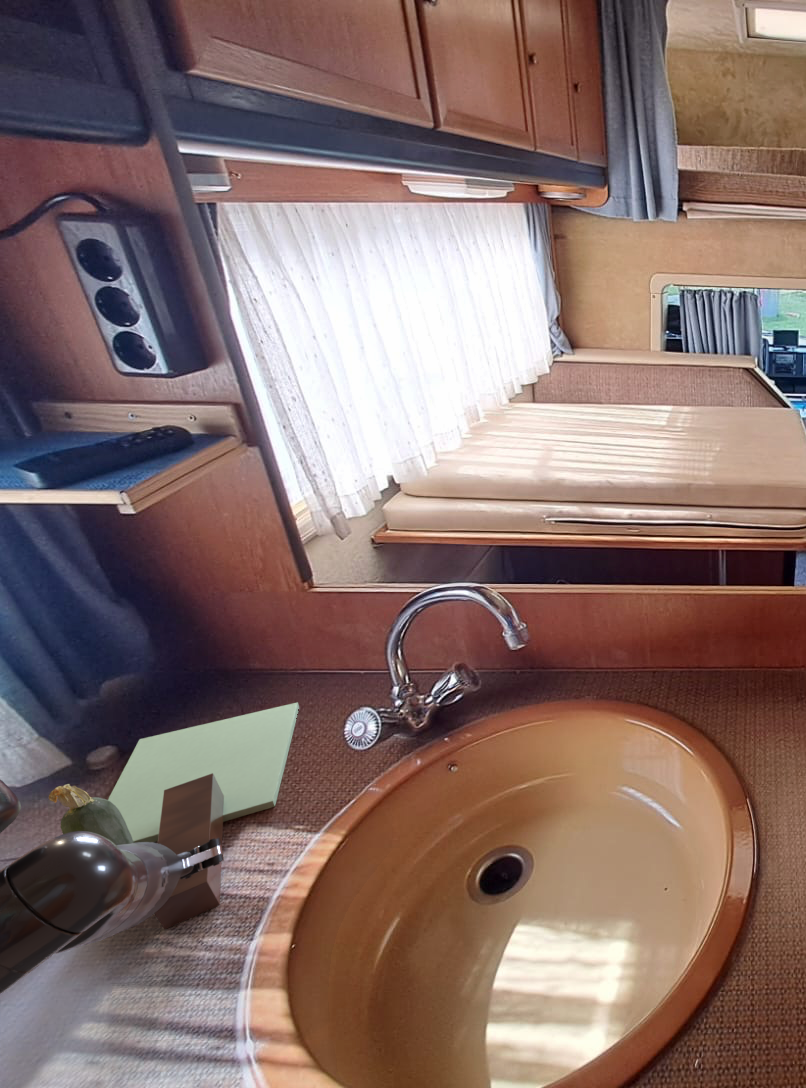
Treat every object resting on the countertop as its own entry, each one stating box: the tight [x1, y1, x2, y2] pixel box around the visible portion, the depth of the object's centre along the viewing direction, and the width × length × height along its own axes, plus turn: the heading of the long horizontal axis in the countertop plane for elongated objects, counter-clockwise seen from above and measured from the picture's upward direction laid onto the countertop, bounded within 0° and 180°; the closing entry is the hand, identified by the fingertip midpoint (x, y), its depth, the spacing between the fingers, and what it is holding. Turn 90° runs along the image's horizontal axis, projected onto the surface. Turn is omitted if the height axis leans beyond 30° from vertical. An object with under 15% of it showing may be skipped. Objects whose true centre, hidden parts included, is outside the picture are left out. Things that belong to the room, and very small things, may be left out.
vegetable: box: [48, 783, 134, 845], centre depth 73 cm, size 4×4×20 cm
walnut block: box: [154, 773, 224, 930], centre depth 80 cm, size 5×5×18 cm
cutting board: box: [107, 701, 300, 843], centre depth 93 cm, size 20×22×1 cm
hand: (166, 875), depth 69 cm, fingers closed
